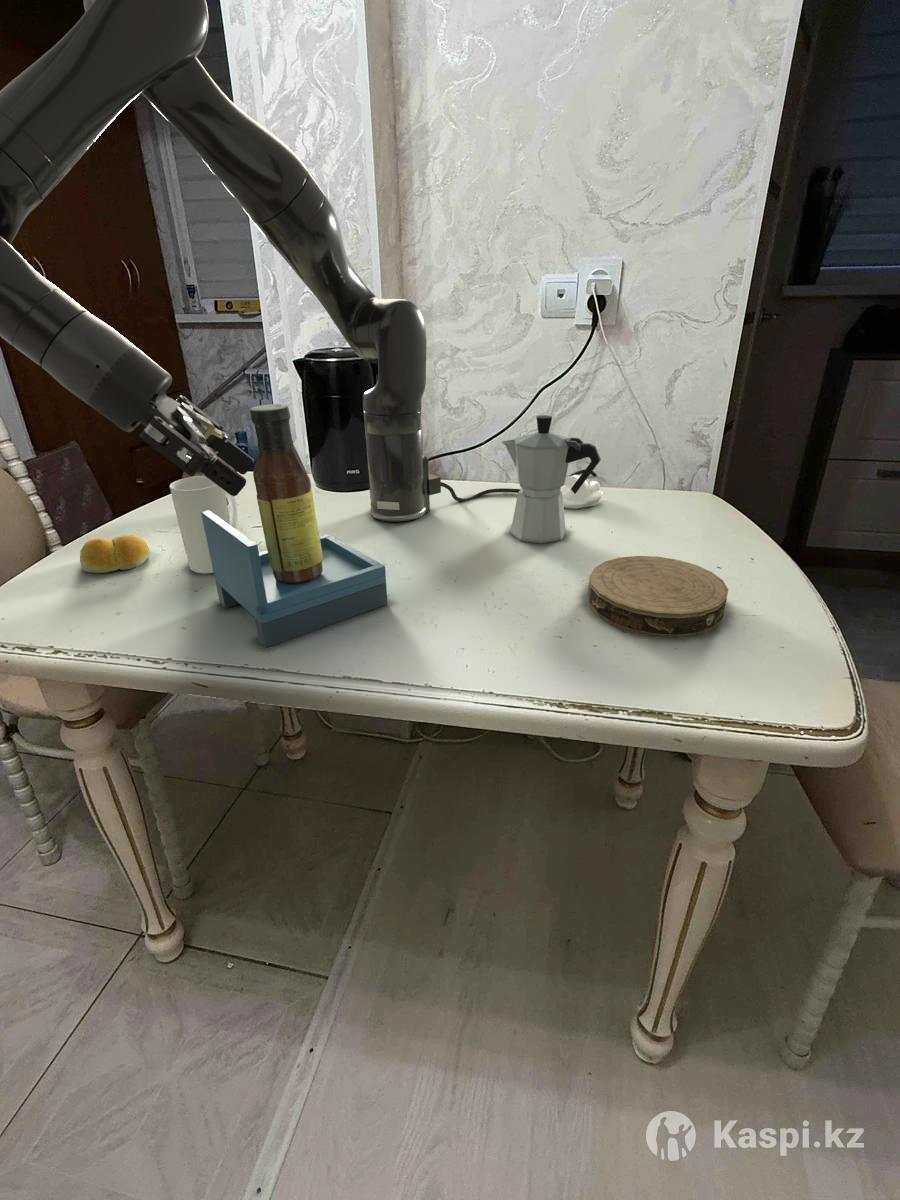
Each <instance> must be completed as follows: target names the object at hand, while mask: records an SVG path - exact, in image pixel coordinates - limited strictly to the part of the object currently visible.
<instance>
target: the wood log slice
mask: <svg viewBox="0 0 900 1200" xmlns="http://www.w3.org/2000/svg"><path fill="white" fill-rule="evenodd" d="M592 569H593V570H592V571H591V572H590V574H589V581H588V593H587V600H588V606H589V607H590V609H591V611H593V613H594V614H595V615H596V616H597V617H599V618H600V619H602V620H604V621H605V622H607V623H608V624H610V625H612V626H615V627H616V628H620V629H623V630H625V631H628V632H631V633H635V634H640V635H644V636H650V637H657V638H658V637H659V638H684V637H693V636H698V635H702V634H704V633H707V632H710V631H712V630H714V629H715V628H716V627H718V626H719V625H720V624H721V623H722V622H723V618H724V615H725V608H726V605H727V599H728V593H729V588H728V586H727V584H726V583H725V581H724V580H723V579H722V578H721V577H719V576H718V575H717V574H715V573H714V572H712V571H710V570H708V569H706V568H704V567H701V566H700V565H697V564H695V563H691V562H687V561H684V560H680V559H676V558H669V557H663V556H656V555H655V556H654V555H653V556H651V555H650V556H649V555H632V556H622V557H621V556H619V557H616V558H612V559H609V560H605V561H604V562H601V563H599V564H598V565H596V566H594V568H592Z"/></svg>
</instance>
